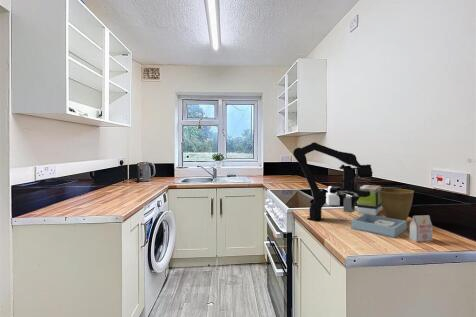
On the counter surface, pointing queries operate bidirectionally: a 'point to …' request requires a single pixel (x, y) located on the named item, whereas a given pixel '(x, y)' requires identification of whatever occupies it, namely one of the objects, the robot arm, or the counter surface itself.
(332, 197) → the medicine bottle
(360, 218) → the walled box
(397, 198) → the plant pot
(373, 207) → the tea box
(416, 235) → the milk carton
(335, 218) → the counter surface
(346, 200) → the connector
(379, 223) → the frame
